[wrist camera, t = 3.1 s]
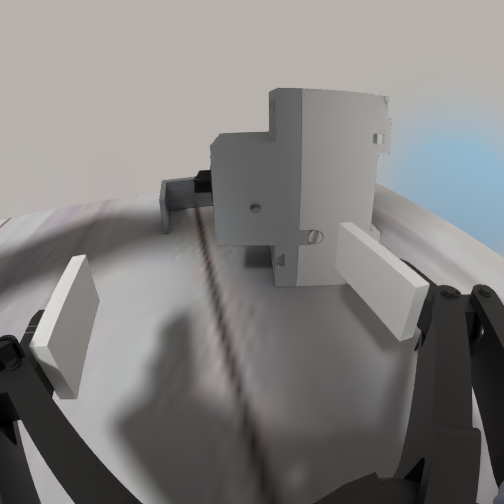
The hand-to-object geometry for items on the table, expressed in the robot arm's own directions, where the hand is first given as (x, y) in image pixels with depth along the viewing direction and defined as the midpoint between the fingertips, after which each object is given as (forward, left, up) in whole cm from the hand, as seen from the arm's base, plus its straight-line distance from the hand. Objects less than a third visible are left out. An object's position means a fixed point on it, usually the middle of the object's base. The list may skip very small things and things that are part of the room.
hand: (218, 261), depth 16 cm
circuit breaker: (+7, +10, -7) cm, 14 cm away
